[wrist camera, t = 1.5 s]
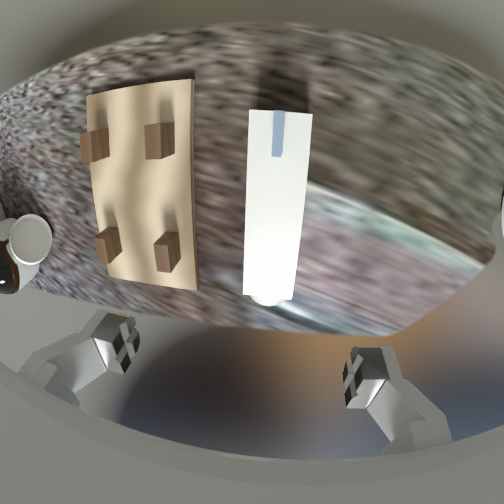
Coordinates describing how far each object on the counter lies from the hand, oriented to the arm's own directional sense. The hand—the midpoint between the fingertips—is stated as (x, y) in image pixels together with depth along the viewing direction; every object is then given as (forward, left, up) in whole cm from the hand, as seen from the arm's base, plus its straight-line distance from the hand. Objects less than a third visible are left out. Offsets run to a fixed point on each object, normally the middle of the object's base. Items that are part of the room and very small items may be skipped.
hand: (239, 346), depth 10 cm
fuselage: (0, +1, -18) cm, 18 cm away
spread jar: (+36, +7, -19) cm, 41 cm away
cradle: (+14, 0, -18) cm, 23 cm away
